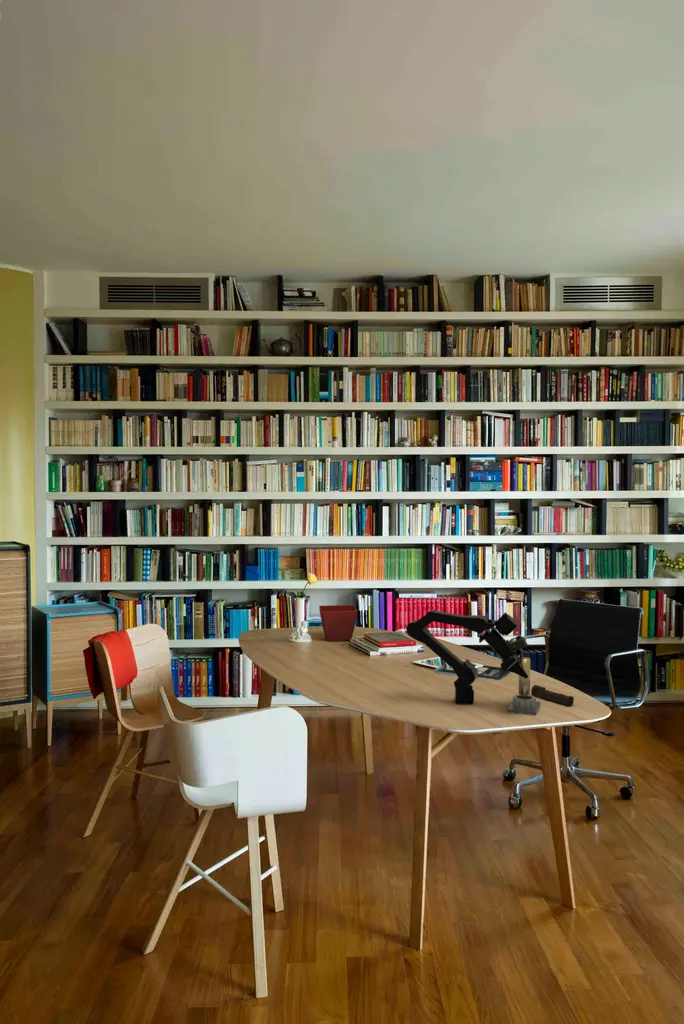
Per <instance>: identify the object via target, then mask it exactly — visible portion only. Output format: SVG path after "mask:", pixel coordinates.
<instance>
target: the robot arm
mask: <svg viewBox="0 0 684 1024" xmlns="http://www.w3.org/2000/svg"><path fill="white" fill-rule="evenodd" d="M433 622H434V623H440V624H446V625H453V626H457V627H462V628H465V629H467V630H469V631H472V632H473V633H478V634H479V635H478V639H479V640H478V643H479V644H481V643H482V642H486V643H487V645H488V646H489V647H491V650H493V653H494V654H495V655H498V657H500V659H501V663H500V668H502V670H503V671H505V670H508V671H511V672H512V674H516V675H518V676H519V675H520V676H522V677H524V678H526V679H527V678H528V675H527V673H526V672H525V670H524V669H523V668H522V666H521V665H520V657H524V654H523V653H524V649H525V648H527V647H528V645H529V644H528V642H527V639H526V638H525V636H521V635H517V636H515V640H512V641H510V640H509V639H505V638H504V636H509V635H510V634H511V633H512V632H514V630H515V629H517V628H518V627H519V623H518V621H517V620H516V619H515V618H514V617H512V615H510V614H508V613H507V612H506V611H505V612H504V613H503V614H502V615H500V617H499V618H498V619H497V620H495V619H490V618H488V617H487V616H485V615H484V614H482V615H478V614H477V615H476V614H473V615H463V614H456V613H450V612H444V611H438V610H436V609H431V610H429V611H428V612H427V613H426V614H425V615H423V616H422V617H420V618H419V619H414V620H412V621H411V622H409V623H408V624H407V626H406V628H405V631H406V634H407V635H408V636H409V637H410V638H412V639H413V640H415V641H417V642H419V643H422V644H423V645H425V646H426V647H427V648H429V649H430V650H431V651H432V652H433V653H435V655H436V656H438V657H439V658H440V659H441V660H442V661H444V663H445V664H446V663H447V664H448V665H449V666H450V667H452V669H453V670H454V672H455V674H456V675H457V679H455V681H454V682H453V685H454V698H453V701H454V703H455V704H456V705H474V701H475V690H474V689H473V685H472V684H474V682H475V681H476V679H478V678H477V677H478V670H477V669H476V668H475V666H476V665H473V664H474V663H472V662H471V661H470V660H469V659H468V658H467V659H466V660H465V661H464V660H462V659H460V658H459V657H458V656H457V655H456V654H455V653H453V652H452V651H451V650H450V649H449V648H447V647H446V646H445V645H444V644H443V643H442V642H441V641H440V640H438V639H437V638H436V637H435V636H433V634H432V633H431V631H430V629H429V628H428V627H427V626H429V625H430V624H432V623H433ZM491 629H492V630H491ZM483 632H484V633H483ZM481 633H482V634H481ZM456 675H455V676H456Z"/></svg>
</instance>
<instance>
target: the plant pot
mask: <svg viewBox="0 0 684 1024" xmlns="http://www.w3.org/2000/svg"><path fill="white" fill-rule="evenodd" d="M318 610H319V614H320V615H319V616H320V622H321V625H322V629H323V633H324V637H325V639H326V642H347V641H346V640H350V639H351V638H353V636H354V631H355V628H356V627H355V626H356V622H357V615H358V609H357V608H356V607H355V605H354V604H346V605H345V604H343V605H341V604H340V605H339V604H337V605H319V609H318ZM351 640H352V639H351Z"/></svg>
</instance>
